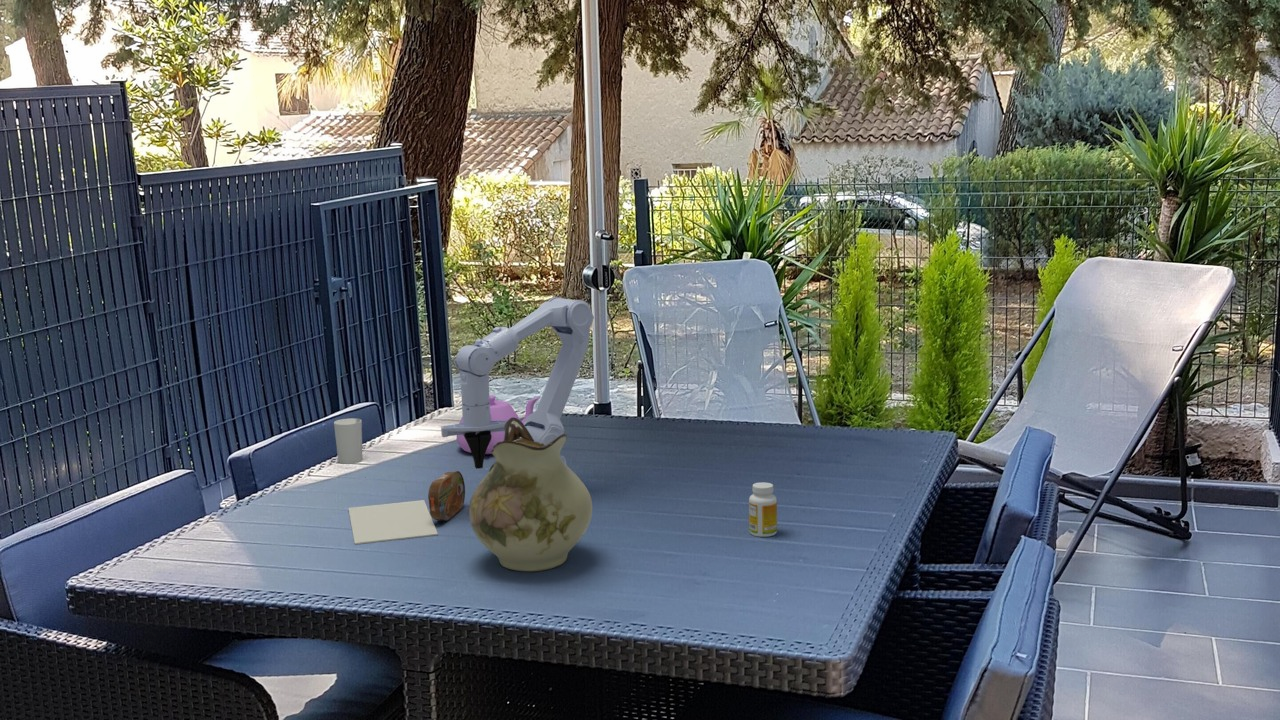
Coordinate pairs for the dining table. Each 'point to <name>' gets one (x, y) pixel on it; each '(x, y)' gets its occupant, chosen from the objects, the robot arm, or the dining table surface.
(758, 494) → the supplement bottle
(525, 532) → the pitcher
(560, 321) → the robot arm
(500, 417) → the teapot
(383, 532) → the mat
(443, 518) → the tin
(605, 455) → the dining table surface
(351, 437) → the drinking glass
